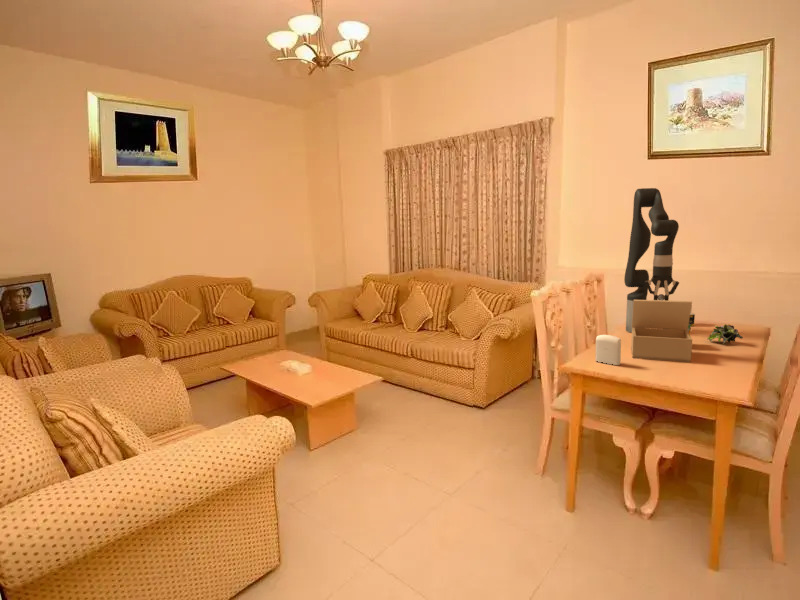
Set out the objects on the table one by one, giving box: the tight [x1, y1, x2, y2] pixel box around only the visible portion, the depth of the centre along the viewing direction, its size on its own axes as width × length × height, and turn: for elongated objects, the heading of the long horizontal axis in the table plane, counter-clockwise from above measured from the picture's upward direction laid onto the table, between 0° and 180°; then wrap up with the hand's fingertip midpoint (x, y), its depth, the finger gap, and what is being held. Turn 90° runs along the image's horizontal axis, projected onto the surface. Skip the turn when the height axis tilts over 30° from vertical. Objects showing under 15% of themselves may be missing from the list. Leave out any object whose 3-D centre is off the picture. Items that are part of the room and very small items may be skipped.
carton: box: [630, 328, 693, 363], centre depth 203 cm, size 16×22×10 cm
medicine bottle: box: [689, 305, 696, 328], centre depth 251 cm, size 7×7×12 cm
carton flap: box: [632, 293, 693, 330], centre depth 207 cm, size 16×22×6 cm
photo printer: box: [595, 334, 622, 366], centre depth 195 cm, size 10×4×12 cm, turn 45°
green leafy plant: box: [706, 323, 744, 346], centre depth 215 cm, size 11×11×12 cm
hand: (660, 303), depth 205 cm, fingers closed on carton flap, 3 cm apart
